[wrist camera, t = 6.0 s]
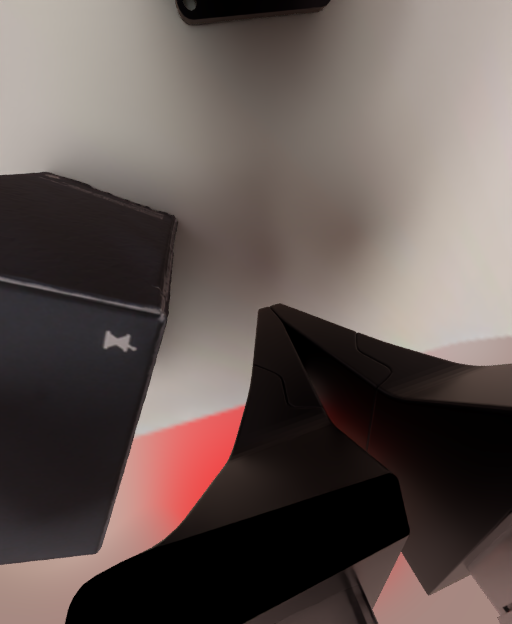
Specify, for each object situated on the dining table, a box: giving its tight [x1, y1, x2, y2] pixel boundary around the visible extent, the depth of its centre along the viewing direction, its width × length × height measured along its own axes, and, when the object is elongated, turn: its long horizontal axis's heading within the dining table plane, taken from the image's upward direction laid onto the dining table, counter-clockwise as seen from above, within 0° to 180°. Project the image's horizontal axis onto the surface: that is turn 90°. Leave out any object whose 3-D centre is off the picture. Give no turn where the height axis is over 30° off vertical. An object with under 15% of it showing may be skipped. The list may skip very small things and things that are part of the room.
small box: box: [0, 172, 178, 565], centre depth 10 cm, size 11×6×10 cm, turn 157°
